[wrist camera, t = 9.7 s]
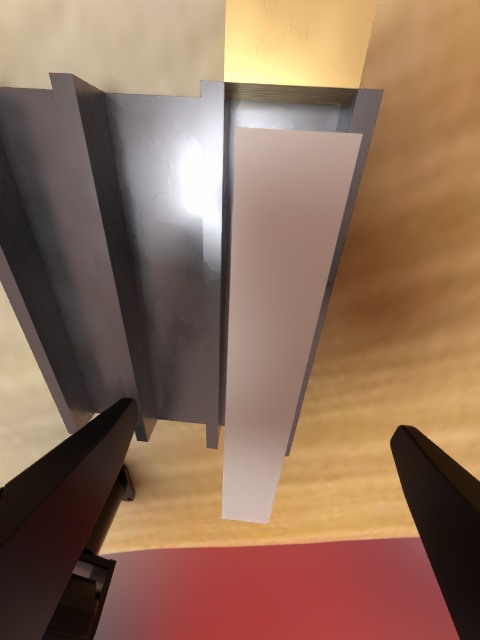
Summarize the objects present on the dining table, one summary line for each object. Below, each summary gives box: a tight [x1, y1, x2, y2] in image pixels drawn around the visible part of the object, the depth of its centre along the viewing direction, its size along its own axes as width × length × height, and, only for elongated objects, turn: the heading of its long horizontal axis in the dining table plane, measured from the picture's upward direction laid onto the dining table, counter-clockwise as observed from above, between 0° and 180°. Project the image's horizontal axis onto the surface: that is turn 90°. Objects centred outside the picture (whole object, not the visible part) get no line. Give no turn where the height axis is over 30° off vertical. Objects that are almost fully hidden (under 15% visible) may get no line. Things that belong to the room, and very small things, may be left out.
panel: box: [221, 127, 363, 524], centre depth 12 cm, size 16×2×7 cm, turn 177°
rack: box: [0, 0, 384, 456], centre depth 14 cm, size 22×16×3 cm
